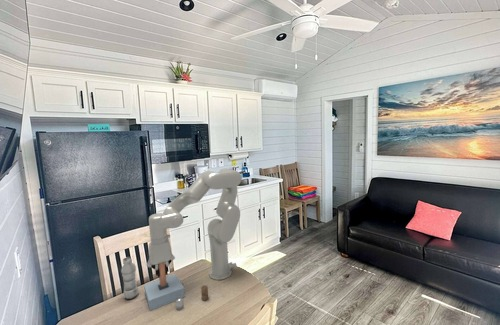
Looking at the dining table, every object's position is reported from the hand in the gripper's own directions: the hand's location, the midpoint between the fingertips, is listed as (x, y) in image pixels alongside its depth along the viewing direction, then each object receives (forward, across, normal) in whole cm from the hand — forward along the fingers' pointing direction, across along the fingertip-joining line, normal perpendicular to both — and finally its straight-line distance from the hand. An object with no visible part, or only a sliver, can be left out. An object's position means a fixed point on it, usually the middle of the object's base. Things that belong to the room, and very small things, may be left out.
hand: (162, 274), depth 122 cm
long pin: (+5, 0, 0) cm, 5 cm away
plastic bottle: (+12, +14, -9) cm, 20 cm away
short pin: (+11, -4, +13) cm, 18 cm away
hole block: (+11, 0, 0) cm, 11 cm away
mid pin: (+11, -16, +14) cm, 24 cm away
